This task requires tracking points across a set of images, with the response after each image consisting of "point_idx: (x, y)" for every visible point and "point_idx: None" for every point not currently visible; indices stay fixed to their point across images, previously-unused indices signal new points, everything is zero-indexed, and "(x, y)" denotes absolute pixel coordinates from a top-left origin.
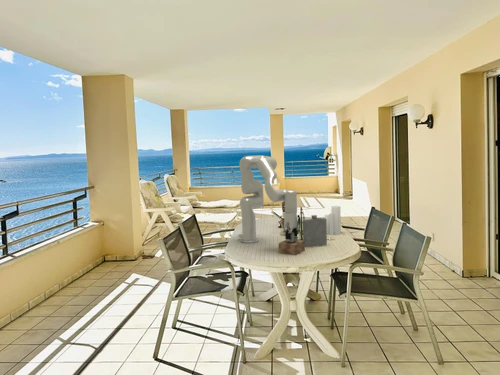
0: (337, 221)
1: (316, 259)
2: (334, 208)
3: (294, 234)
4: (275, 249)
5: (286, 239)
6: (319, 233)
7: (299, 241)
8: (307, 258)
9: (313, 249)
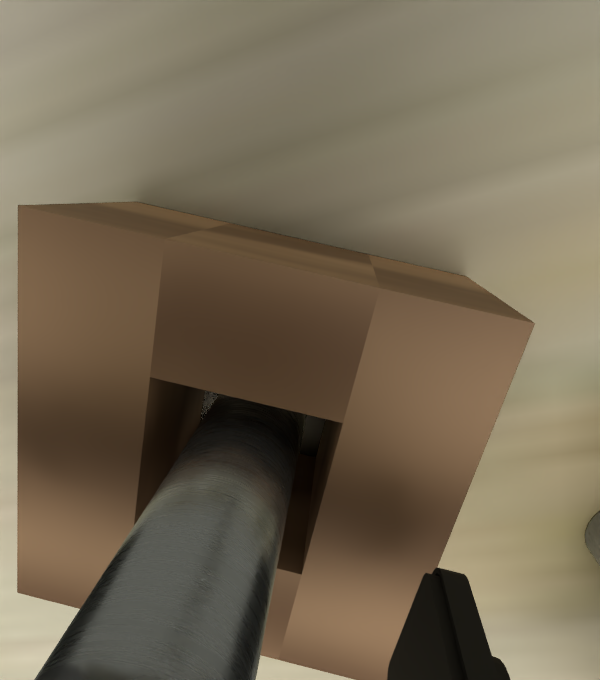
0: None
1: (30, 675)
2: None
3: (415, 664)
4: (348, 59)
5: (488, 312)
6: None
7: (320, 614)
8: (26, 601)
9: None
